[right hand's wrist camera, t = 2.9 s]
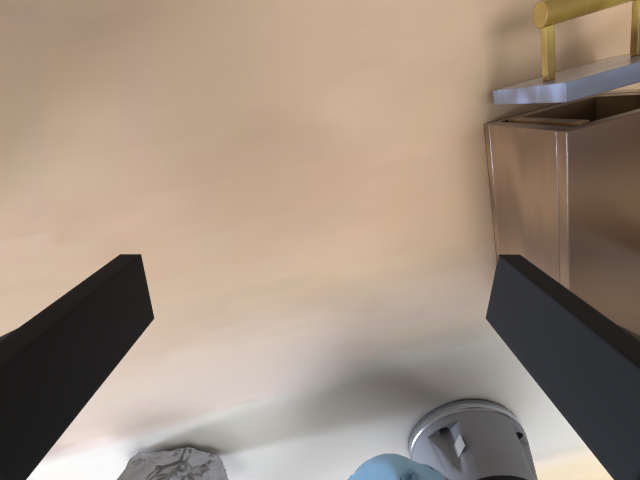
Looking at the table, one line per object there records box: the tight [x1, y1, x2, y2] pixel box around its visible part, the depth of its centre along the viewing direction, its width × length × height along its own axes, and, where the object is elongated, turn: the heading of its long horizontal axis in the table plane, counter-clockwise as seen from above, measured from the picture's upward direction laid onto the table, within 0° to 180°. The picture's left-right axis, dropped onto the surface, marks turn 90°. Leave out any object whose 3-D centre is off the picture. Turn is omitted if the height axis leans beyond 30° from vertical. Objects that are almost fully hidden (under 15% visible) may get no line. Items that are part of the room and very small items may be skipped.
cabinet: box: [484, 89, 640, 335], centre depth 29 cm, size 19×11×12 cm, turn 15°
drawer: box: [493, 0, 640, 127], centre depth 27 cm, size 22×10×10 cm, turn 15°
